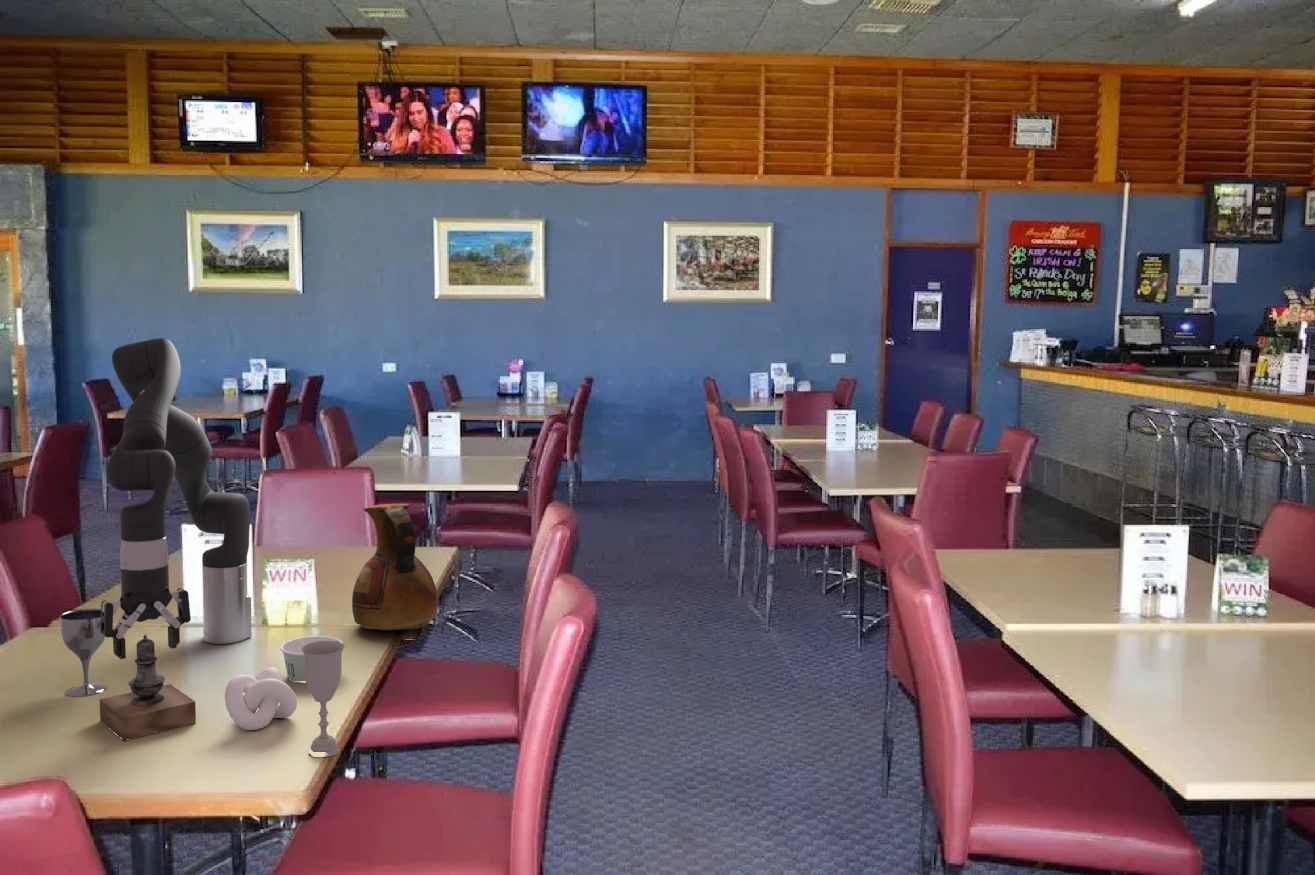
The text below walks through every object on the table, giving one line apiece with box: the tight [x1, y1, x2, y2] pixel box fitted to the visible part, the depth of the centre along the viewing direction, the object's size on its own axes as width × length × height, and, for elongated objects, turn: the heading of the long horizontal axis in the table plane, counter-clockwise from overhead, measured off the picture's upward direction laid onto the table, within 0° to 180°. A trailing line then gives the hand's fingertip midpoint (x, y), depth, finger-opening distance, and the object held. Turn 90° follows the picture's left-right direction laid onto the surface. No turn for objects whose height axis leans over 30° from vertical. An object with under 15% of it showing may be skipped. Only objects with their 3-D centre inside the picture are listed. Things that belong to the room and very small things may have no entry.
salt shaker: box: [127, 634, 166, 706], centre depth 180 cm, size 6×6×12 cm
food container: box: [279, 635, 343, 681], centre depth 207 cm, size 12×12×6 cm
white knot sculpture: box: [224, 666, 298, 731], centre depth 182 cm, size 11×12×9 cm
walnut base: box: [99, 683, 197, 741], centre depth 181 cm, size 12×12×4 cm
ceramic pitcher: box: [351, 503, 439, 631], centre depth 240 cm, size 20×20×30 cm
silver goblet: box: [59, 608, 108, 698], centre depth 195 cm, size 8×8×15 cm
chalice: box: [301, 641, 345, 758], centre depth 170 cm, size 7×7×18 cm
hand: (147, 652), depth 180 cm, fingers open, 8 cm apart
